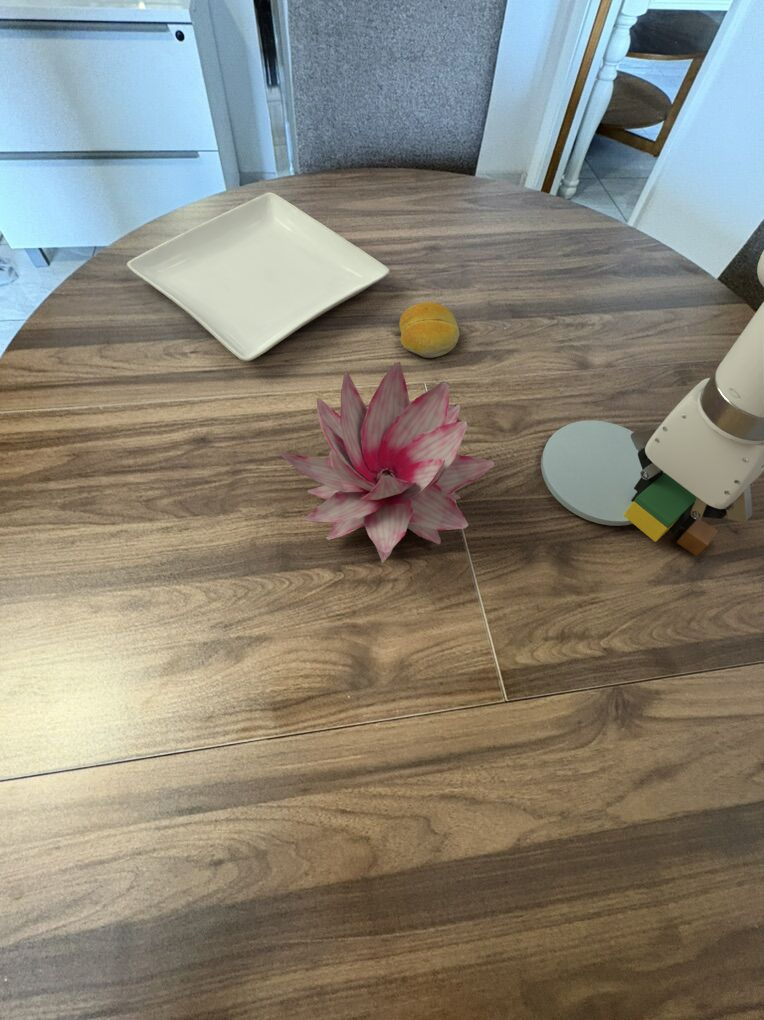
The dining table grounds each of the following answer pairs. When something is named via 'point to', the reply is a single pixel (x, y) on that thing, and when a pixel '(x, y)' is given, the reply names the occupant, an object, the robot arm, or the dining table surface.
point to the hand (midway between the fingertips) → (659, 509)
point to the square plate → (257, 273)
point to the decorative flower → (391, 463)
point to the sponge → (659, 506)
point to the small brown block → (697, 537)
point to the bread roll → (428, 329)
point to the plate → (592, 470)
